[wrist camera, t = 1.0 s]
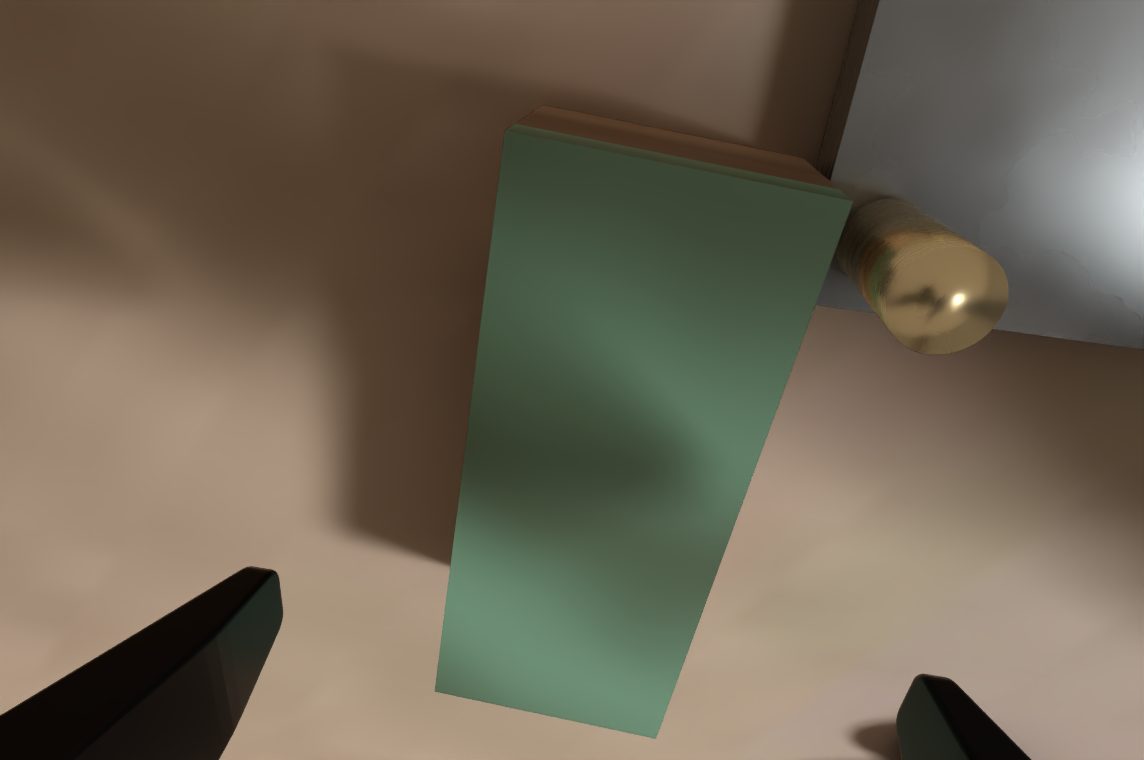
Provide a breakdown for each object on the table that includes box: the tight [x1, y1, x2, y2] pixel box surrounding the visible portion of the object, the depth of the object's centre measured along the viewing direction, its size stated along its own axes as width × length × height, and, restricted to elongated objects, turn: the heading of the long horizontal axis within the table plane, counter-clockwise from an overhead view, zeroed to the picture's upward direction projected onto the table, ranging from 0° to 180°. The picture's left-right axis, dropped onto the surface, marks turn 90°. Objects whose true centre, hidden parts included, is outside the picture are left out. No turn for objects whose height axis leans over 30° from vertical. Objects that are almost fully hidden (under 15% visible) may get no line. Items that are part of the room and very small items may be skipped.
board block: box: [435, 105, 853, 739], centre depth 14 cm, size 12×5×4 cm, turn 170°
